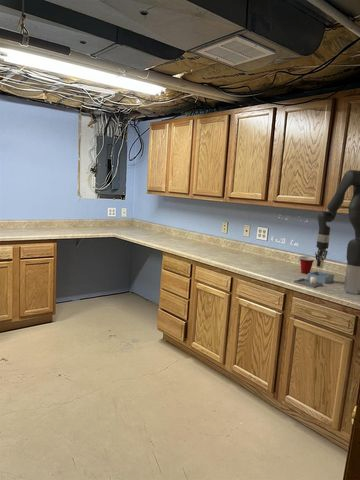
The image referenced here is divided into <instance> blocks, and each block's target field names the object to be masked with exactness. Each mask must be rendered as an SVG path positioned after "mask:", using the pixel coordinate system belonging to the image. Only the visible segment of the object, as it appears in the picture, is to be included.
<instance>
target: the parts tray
mask: <svg viewBox="0 0 360 480" xmlns="http://www.w3.org/2000/svg"><path fill="white" fill-rule="evenodd" d="M293 283H295V284H298V285H302V286H306V287H310V288H313V289H314V288H316V287H320V286H323V284H324V283H320V282H316V285H310V280H308V279H307V278H298V279H296V280H295V279H294V280H293Z"/></svg>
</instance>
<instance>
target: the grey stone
mask: <svg viewBox="0 0 360 480" xmlns="http://www.w3.org/2000/svg"><path fill="white" fill-rule="evenodd" d="M316 282H317V277H310V285H316Z"/></svg>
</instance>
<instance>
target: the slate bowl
mask: <svg viewBox="0 0 360 480" xmlns="http://www.w3.org/2000/svg"><path fill="white" fill-rule="evenodd" d="M310 277H317V282H320V283H323V284H328V283H332V282H334V277H335V275H334V274H332V273H326V272H321V271H318V270H316V271H312V272H311V271H310V273H308V274H307V276H306V279H308V280H310Z"/></svg>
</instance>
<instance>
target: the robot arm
mask: <svg viewBox="0 0 360 480" xmlns="http://www.w3.org/2000/svg"><path fill="white" fill-rule="evenodd" d="M351 186H352V197H351V200H350V202H349V205H348V208H347V209H348V210H347V211H348V218H349V219H348V220H349V221H350V224H351V226H352V227H353V230H354V238H353V239H350V240H349V241H348V244H347V247H346V256H345V257H346V261H347V263H346V269H345V277H344V285H343V291H344V292H346V293H348V294H354V295H360V170H355V169H351V170H347V171H346V172H345V173H344V174H343V176H342V178H341V181H340V182H339V185H338V187H337V189H336V191H335V193H334V195H333V196H332V198H331V199H330V201H329V202H328V204H327V206H326V209H327V210H328V211H320V212H319V213H318V215H317V222H318V234H317V238H316V239H317V240H316V246H315V247H316V248H317V251H315V260H316V267H317V266H320V264H321V260H324V261H326V259H327V255H328V252H329V251H328V250H329V246H330V232H331V227H330V226H329V225H327V223H331V222H333V221H334V220H335V218H336V216H337V213H338V210H339V209H340V207H342V205H343V203H344V201H345V195H346V192H347V191H348V189H349V188H350V187H351ZM323 264H324V262H323Z"/></svg>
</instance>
